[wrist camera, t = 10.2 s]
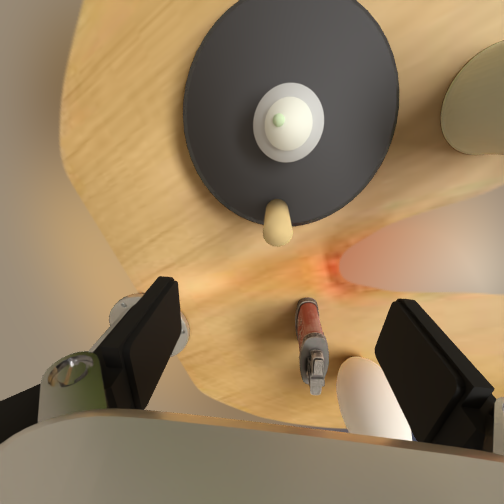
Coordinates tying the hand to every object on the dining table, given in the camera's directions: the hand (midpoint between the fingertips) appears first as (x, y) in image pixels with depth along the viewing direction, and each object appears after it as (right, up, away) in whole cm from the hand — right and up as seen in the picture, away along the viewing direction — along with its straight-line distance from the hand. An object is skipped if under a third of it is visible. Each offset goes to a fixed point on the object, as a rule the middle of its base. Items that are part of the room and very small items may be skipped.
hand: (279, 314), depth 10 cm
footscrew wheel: (+2, +15, +13) cm, 20 cm away
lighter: (+7, -7, +25) cm, 27 cm away
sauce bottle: (+15, -15, +27) cm, 35 cm away
